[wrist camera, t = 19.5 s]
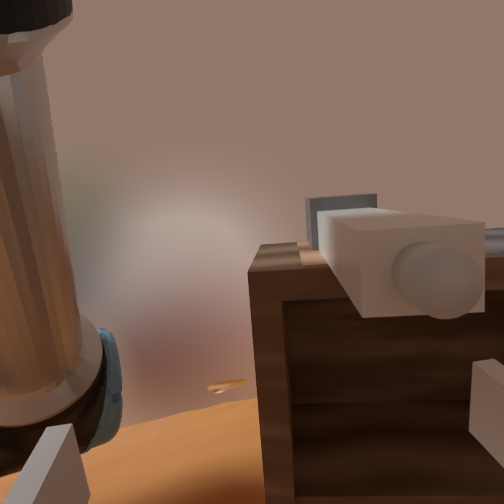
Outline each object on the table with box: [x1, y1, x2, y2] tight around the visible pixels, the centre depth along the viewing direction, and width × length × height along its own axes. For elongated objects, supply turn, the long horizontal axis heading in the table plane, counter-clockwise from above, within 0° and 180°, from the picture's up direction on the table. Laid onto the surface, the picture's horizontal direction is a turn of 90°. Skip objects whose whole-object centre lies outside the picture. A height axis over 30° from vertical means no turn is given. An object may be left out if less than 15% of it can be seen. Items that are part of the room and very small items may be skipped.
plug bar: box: [305, 194, 485, 319], centre depth 24 cm, size 26×5×4 cm, turn 175°
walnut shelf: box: [248, 228, 504, 504], centre depth 32 cm, size 14×26×30 cm, turn 85°
